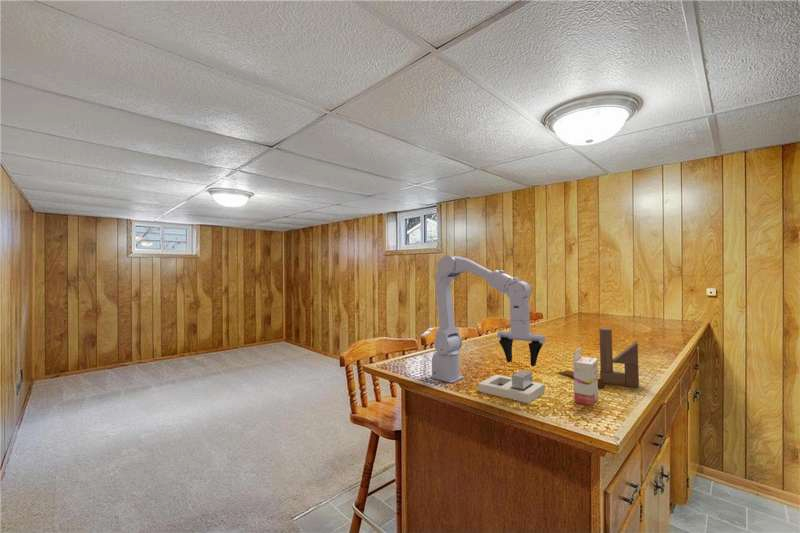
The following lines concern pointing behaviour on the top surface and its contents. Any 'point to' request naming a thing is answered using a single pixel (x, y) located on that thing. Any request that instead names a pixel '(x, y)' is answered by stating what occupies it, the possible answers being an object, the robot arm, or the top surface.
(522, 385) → the tall grey block
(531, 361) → the robot arm
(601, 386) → the primitive tool
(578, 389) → the ink cartridge box
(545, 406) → the top surface
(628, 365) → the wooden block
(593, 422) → the top surface
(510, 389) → the light grey flat piece
